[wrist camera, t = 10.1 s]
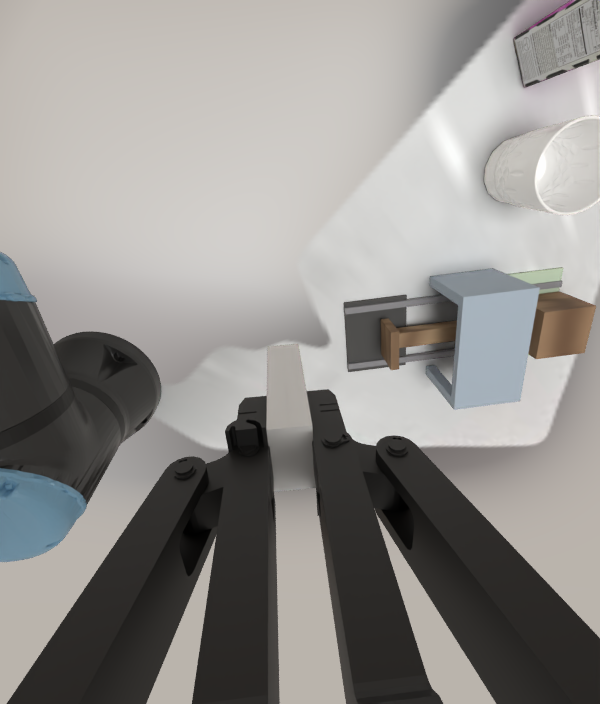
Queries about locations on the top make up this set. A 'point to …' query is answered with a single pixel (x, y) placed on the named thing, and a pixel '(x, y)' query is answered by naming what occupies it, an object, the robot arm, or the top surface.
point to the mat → (541, 278)
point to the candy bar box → (560, 41)
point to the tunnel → (478, 335)
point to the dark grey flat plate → (370, 330)
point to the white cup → (549, 168)
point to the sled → (546, 340)
